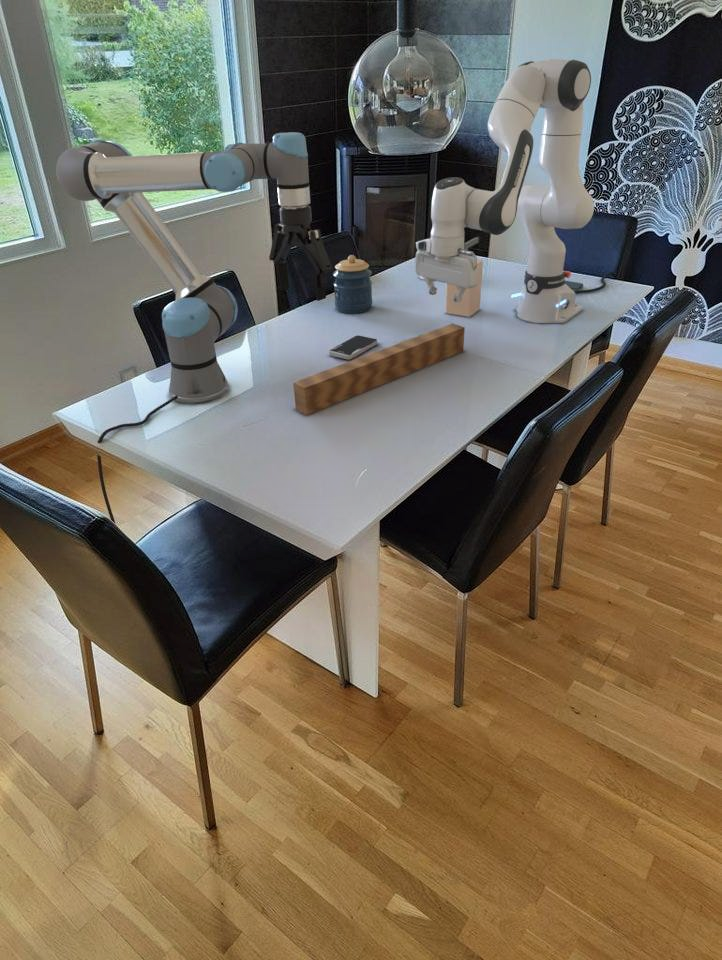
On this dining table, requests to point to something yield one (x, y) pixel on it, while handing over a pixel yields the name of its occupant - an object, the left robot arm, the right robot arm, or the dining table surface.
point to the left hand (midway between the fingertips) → (302, 294)
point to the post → (376, 368)
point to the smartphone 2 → (574, 285)
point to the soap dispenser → (470, 296)
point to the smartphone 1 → (353, 347)
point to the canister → (352, 286)
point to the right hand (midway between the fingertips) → (444, 297)
